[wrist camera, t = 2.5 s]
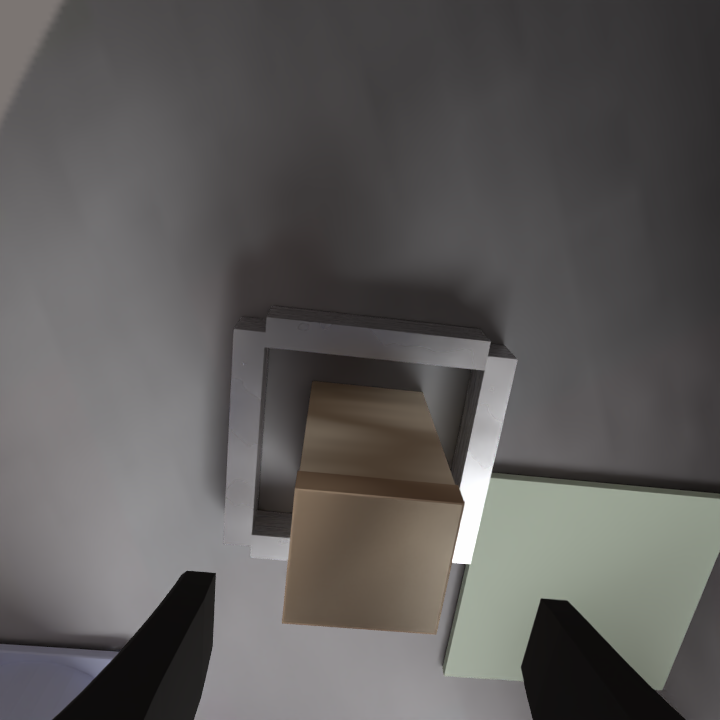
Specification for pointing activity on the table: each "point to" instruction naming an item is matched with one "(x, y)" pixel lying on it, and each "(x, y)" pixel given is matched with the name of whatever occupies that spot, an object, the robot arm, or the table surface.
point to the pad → (583, 570)
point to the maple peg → (371, 514)
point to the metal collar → (365, 341)
